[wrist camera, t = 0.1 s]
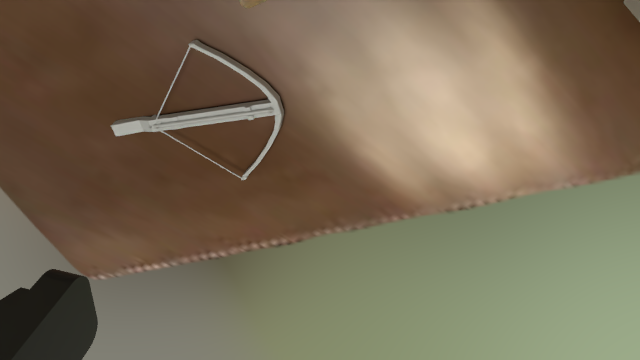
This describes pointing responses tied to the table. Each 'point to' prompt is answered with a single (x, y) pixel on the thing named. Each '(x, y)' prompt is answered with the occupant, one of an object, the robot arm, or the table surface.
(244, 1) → the sandwich container
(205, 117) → the crossbow
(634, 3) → the box
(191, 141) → the table surface
